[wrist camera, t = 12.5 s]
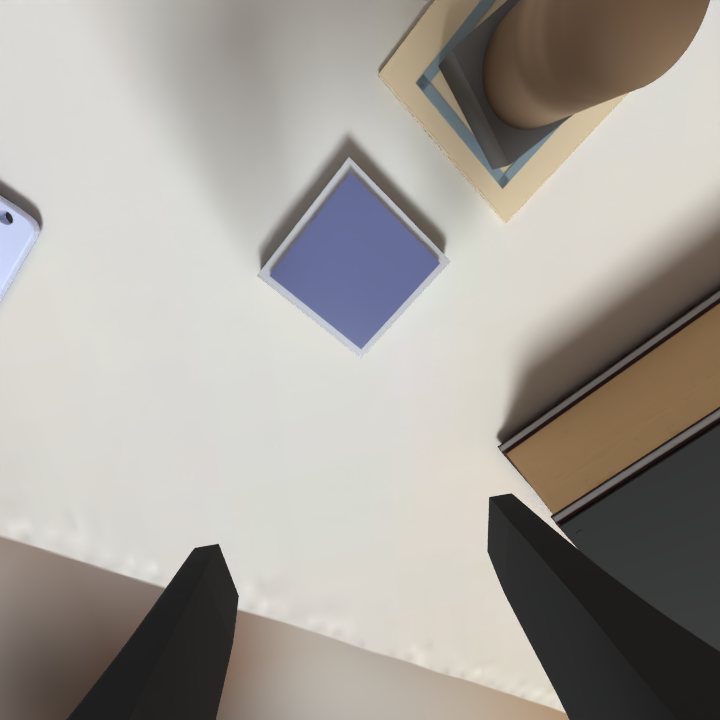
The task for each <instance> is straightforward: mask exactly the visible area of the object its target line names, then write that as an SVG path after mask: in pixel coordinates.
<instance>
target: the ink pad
mask: <svg viewBox="0 0 720 720" xmlns="http://www.w3.org/2000/svg"><path fill="white" fill-rule="evenodd" d="M450 262H451V261H450V260H449V259H448V258H447V257H446V256H445V255H444V254H443V253H442V252H441V251H440V250H439V249H438V248H437V247H436V246H435V245H434V244H433V243H432V242H431V240H430V239H429V238H428V237H427V236H426V235H425V234H424V233H423V232H422V231H421V230H420V229H419V228H418V227H417V226H416V225H415V224H414V223H413V222H412V221H411V220H410V219H409V218H408V217H407V216H406V215H405V214H404V213H403V212H402V211H401V210H400V209H399V208H398V207H397V206H396V205H395V204H394V203H393V202H392V200H391V199H390V198H389V197H388V196H387V195H386V194H385V193H384V192H383V191H382V190H381V189H380V188H379V187H378V186H377V185H376V184H375V183H374V182H373V181H372V180H371V179H370V178H369V177H368V176H367V175H366V174H365V173H364V172H363V171H362V170H361V169H360V168H359V167H358V166H357V165H356V164H355V163H354V162H353V160H352V159H351V158H350V157H349V158H348V159H347V160H346V161H345V163H344V164H343V165H342V167H341V168H340V169H339V170H338V172H337V173H336V174H335V176H334V177H333V178H332V179H331V181H330V182H329V183H328V185H327V186H326V187H325V188H324V190H323V191H322V192H321V194H320V195H319V196H318V197H317V199H316V200H315V201H314V203H313V204H312V205H311V207H310V208H309V209H308V210H307V212H306V213H305V214H304V216H303V217H302V218H301V219H300V221H299V222H298V223H297V225H296V226H295V227H294V228H293V230H292V231H291V232H290V234H289V235H288V236H287V237H286V239H285V240H284V241H283V243H282V244H281V245H280V246H279V248H278V249H277V250H276V252H275V253H274V254H273V255H272V257H271V258H270V259H269V261H268V262H267V263H266V264H265V266H264V267H263V268H262V270H261V271H260V272H259V273H258V275H257V276H258V277H259V278H261V279H262V280H263V281H264V282H266V283H267V284H268V285H269V286H271V287H272V288H273V289H274V290H276V291H277V292H278V293H279V294H281V295H282V296H283V297H284V298H286V299H287V300H288V301H290V302H291V303H292V304H293V305H295V306H296V307H297V308H298V309H300V310H301V311H302V312H303V313H305V314H306V315H307V316H308V317H310V318H311V319H312V320H314V321H315V322H316V323H317V324H319V325H320V326H321V327H322V328H324V329H325V330H326V331H327V332H329V333H330V334H331V335H332V336H334V337H335V338H336V339H338V340H339V341H340V342H341V343H343V344H344V345H345V346H346V347H348V348H349V349H350V350H351V351H353V352H354V353H355V354H356V355H358V356H359V357H360V358H362V357H363V356H364V355H365V354H366V353H367V351H368V350H369V349H370V348H371V347H372V346H373V345H374V344H375V343H376V342H377V341H378V340H379V338H380V337H381V336H382V335H383V334H384V333H385V332H386V331H387V330H388V329H389V328H390V327H391V325H392V324H393V323H394V322H395V321H396V320H397V319H398V318H399V317H400V316H401V315H402V314H403V312H404V311H405V310H406V309H407V308H408V307H409V306H410V305H411V304H412V303H413V302H414V301H415V299H416V298H417V297H418V296H419V295H420V294H421V293H422V292H423V291H424V290H425V289H426V288H427V286H428V285H429V284H430V283H431V282H432V281H433V280H434V279H435V278H436V277H437V276H438V275H439V274H440V272H441V271H442V270H443V269H444V268H445V267H446V266H447V265H448V264H449V263H450Z"/></svg>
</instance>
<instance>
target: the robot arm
mask: <svg viewBox="0 0 720 720" xmlns="http://www.w3.org/2000/svg"><path fill="white" fill-rule="evenodd" d="M6 212H9V213H10V214H11V215H12V218H13V223H10V222H9V221H8V220H7V218H6ZM39 232H40V229H39V225H38V223H37V222H36V220H35V219H34V218H32V217H31V216H30V215H28V214H27V213H26V212H24V211H23V210H21V209H20V208H18V207H17V206H15V205H14V204H12V203H11V202H10V201H8V200H7V199H5V198H4V197H2V196H1V195H0V301H1V299H2V298H3V296H4V294H5V292H6V291H7V289H8V287H9V285H10V284H11V282H12V280H13V279H14V277H15V275H16V273H17V272H18V270H19V268H20V267H21V265H22V263H23V261H24V260H25V258H26V256H27V254H28V253H29V251H30V249H31V248H32V246H33V244H34V242H35V241H36V239H37V237H38V235H39ZM488 554H489V556H490V559H491V561H492V564H493V566H494V569H495V572H496V574H497V576H498V579H499V581H500V584H501V586H502V589H503V591H504V593H505V595H506V597H507V599H508V601H509V603H510V605H511V607H512V609H513V611H514V613H515V615H516V617H517V619H518V620H519V622H520V624H521V626H522V628H523V630H524V632H525V634H526V636H527V638H528V640H529V642H530V643H531V645H532V647H533V649H534V651H535V653H536V655H537V657H538V659H539V661H540V662H541V664H542V666H543V668H544V670H545V672H546V674H547V676H548V678H549V680H550V682H551V683H552V685H553V687H554V689H555V691H556V693H557V695H558V697H559V699H560V701H561V703H562V705H563V707H564V709H565V711H566V713H567V715H568V717H569V719H570V720H720V651H718V650H717V649H715V648H714V647H712V646H710V645H709V644H707V643H706V642H704V641H703V640H701V639H700V638H698V637H697V636H695V635H694V634H692V633H691V632H689V631H688V630H686V629H685V628H683V627H682V626H680V625H679V624H677V623H676V622H674V621H673V620H672V619H670V618H669V617H667V616H666V615H664V614H663V613H662V612H660V611H659V610H657V609H656V608H654V607H653V606H652V605H650V604H649V603H647V602H646V601H645V600H643V599H642V598H641V597H639V596H638V595H636V594H635V593H634V592H632V591H631V590H630V589H628V588H627V587H626V586H624V585H623V584H622V583H620V582H619V581H618V580H616V579H615V578H614V577H612V576H611V575H610V574H608V573H607V572H606V571H605V570H603V569H602V568H601V567H599V566H598V565H597V564H596V563H594V562H593V561H592V560H591V559H589V558H588V557H587V556H586V555H584V554H583V553H582V552H581V551H579V550H578V549H577V548H576V547H574V546H573V545H572V544H571V543H569V542H568V541H567V540H566V539H565V538H563V537H562V536H561V535H560V534H559V533H557V532H556V531H555V530H554V529H553V528H552V527H550V526H549V525H548V524H547V523H546V522H544V521H543V520H542V519H541V518H540V517H539V516H537V515H536V514H535V513H534V512H533V511H532V510H530V509H529V508H528V507H527V506H526V505H525V504H523V503H522V502H521V501H520V500H519V499H518V498H516V497H515V496H514V495H513V494H505V495H499V496H494V497H489V522H488ZM238 597H239V596H238V593H237V590H236V588H235V585H234V583H233V580H232V577H231V575H230V572H229V570H228V567H227V564H226V562H225V559H224V557H223V554H222V551H221V549H220V546H219V544H215V545H209V546H204V547H198V548H195V549H194V550H193V551H192V552H191V554H190V555H189V556H188V558H187V559H186V561H185V562H184V563H183V565H182V566H181V568H180V569H179V571H178V572H177V573H176V575H175V576H174V578H173V579H172V580H171V582H170V583H169V585H168V586H167V588H166V589H165V590H164V592H163V594H162V595H161V596H160V597H159V599H158V600H157V602H156V603H155V605H154V606H153V607H152V609H151V610H150V612H149V613H148V614H147V616H146V617H145V618H144V620H143V621H142V623H141V624H140V625H139V627H138V628H137V629H136V631H135V632H134V633H133V635H132V636H131V637H130V639H129V640H128V641H127V643H126V644H125V645H124V647H123V648H122V649H121V651H120V652H119V653H118V655H117V656H116V657H115V659H114V660H113V661H112V663H111V664H110V665H109V666H108V668H107V669H106V670H105V671H104V673H103V674H102V675H101V677H100V678H99V679H98V680H97V682H96V683H95V684H94V686H93V687H92V688H91V689H90V691H89V692H88V693H87V694H86V696H85V697H84V698H83V700H82V701H81V702H80V703H79V705H78V706H77V707H76V708H75V710H74V711H73V712H72V713H71V714H70V716H69V717H68V718H67V719H66V720H216V716H217V711H218V707H219V703H220V698H221V694H222V689H223V685H224V681H225V676H226V671H227V667H228V663H229V658H230V654H231V649H232V645H233V638H234V630H235V623H236V614H237V606H238Z"/></svg>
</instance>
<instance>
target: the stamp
mask: <svg viewBox="0 0 720 720" xmlns="http://www.w3.org/2000/svg"><path fill="white" fill-rule="evenodd" d="M709 2H710V0H507V1H506V2H505V3H504V4H503V5H501V6H500V7H499V8H498V9H497V10H496V11H495V12H493V13H492V14H491V15H490V16H489V17H488V18H487V19H485V20H484V21H483V22H482V23H481V24H480V25H479V26H478V27H476V28H475V29H474V30H473V31H472V32H471V33H470V34H468V35H467V36H466V37H465V38H464V39H463V40H462V41H460V42H459V43H458V44H457V45H456V46H455V47H454V48H452V49H451V51H450V52H449V53H448V54H447V56H446V57H445V58H444V59H443V61H442V62H441V63H440V64H439V68H440V70H441V72H442V74H443V76H444V78H445V80H446V82H447V84H448V86H449V88H450V89H451V91H452V93H453V95H454V97H455V99H456V101H457V103H458V105H459V107H460V109H461V111H462V113H463V114H464V116H465V118H466V120H467V122H468V124H469V126H470V128H471V130H472V132H473V134H474V136H475V138H476V139H477V141H478V143H479V145H480V147H481V149H482V151H483V153H484V155H485V157H486V159H487V161H488V163H489V164H490V166H491V168H492V170H494V169H497V168H501V167H505V166H509V165H511V164H512V163H513V162H514V161H516V160H517V159H518V158H519V157H521V156H522V155H523V154H525V153H526V152H527V151H528V150H530V149H531V148H532V147H533V146H535V145H536V144H537V143H538V142H540V141H541V140H542V139H543V138H545V137H546V136H547V135H548V134H550V133H551V132H552V131H554V130H555V129H556V128H557V127H559V126H560V125H561V124H562V123H564V122H565V121H566V120H567V119H569V118H570V117H571V116H572V115H574V114H575V113H578V112H581V111H583V110H586V109H588V108H591V107H593V106H596V105H598V104H601V103H603V102H606V101H608V100H611V99H614V98H616V97H619V96H621V95H624V94H626V93H629V92H631V91H634V90H636V89H639V88H642V87H644V86H646V85H648V84H650V83H652V82H653V81H655V80H656V79H658V78H659V77H661V76H662V75H663V74H664V73H666V72H667V71H668V70H669V69H670V68H671V67H672V66H673V65H674V64H675V63H676V62H677V61H678V60H679V59H680V57H681V56H682V55H683V53H684V52H685V51H686V50H687V48H688V47H689V45H690V43H691V42H692V40H693V39H694V37H695V35H696V33H697V31H698V30H699V28H700V26H701V23H702V21H703V19H704V16H705V14H706V11H707V8H708V5H709Z"/></svg>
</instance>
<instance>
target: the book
mask: <svg viewBox="0 0 720 720" xmlns="http://www.w3.org/2000/svg"><path fill="white" fill-rule="evenodd" d="M498 448H499V449H500V450H501V451H502V453H503V454H504V456H505V457H506V458H507V459H508V460H509V461H510V463H511V464H512V465H513V466H514V467H515V468H516V469H517V471H518V472H519V473H520V474H521V475H522V476H523V478H524V479H525V480H526V481H527V482H528V483H529V485H530V486H531V487H532V488H533V489H534V490H535V492H536V493H537V494H538V496H539V497H540V498H541V500H542V501H543V502H544V503H545V505H546V506H547V507H548V509H549V510H550V511H551V512H552V514H553V515H552V516H551V518H552V519H553V520H554V521H555V523H556V525H557V526H558V527H559V528H560V529H561V530H562V531H563V532H564V534H565V535H566V536H567V537H568V538H569V539H570V540H571V542H572V543H573V544H574V545H575V546H576V547H577V548H578V550H579V551H581V552H582V553H583V554H584V555H586V556H587V557H588V558H589V559H591V560H592V561H593V562H594V563H596V564H597V565H598V566H599V567H601V568H602V569H603V570H605V571H606V572H607V573H608V574H610V575H611V576H612V577H614V578H615V579H616V580H618V581H619V582H620V583H622V584H623V585H624V586H626V587H627V588H628V589H630V590H631V591H632V592H634V593H635V594H636V595H638V596H639V597H641V598H642V599H643V600H645V601H646V602H647V603H649V604H650V605H652V606H653V607H654V608H656V609H657V610H659V611H660V612H662V613H663V614H664V615H666V616H667V617H669V618H670V619H672V620H673V621H674V622H676V623H677V624H679V625H680V626H682V627H683V628H685V629H686V630H688V631H689V632H691V633H692V634H694V635H695V636H697V637H698V638H700V639H701V640H703V641H704V642H706V643H707V644H709V645H710V646H712V647H714V648H715V649H717V650H718V651H720V289H719V290H718V291H716V292H715V293H713V294H712V295H711V296H709V297H708V298H706V299H705V300H704V301H702V302H701V303H699V304H698V305H696V306H695V307H694V308H692V309H691V310H689V311H688V312H687V313H685V314H684V315H682V316H681V317H680V318H678V319H677V320H675V321H674V322H673V323H671V324H670V325H668V326H667V327H666V328H664V329H663V330H661V331H660V332H659V333H657V334H656V335H654V336H653V337H651V338H650V339H649V340H647V341H646V342H644V343H643V344H642V345H640V346H639V347H637V348H636V349H635V350H633V351H632V352H630V353H629V354H628V355H626V356H625V357H623V358H622V359H621V360H619V361H618V362H616V363H615V364H614V365H612V366H611V367H609V368H608V369H606V370H605V371H604V372H602V373H601V374H599V375H598V376H597V377H595V378H594V379H592V380H591V381H590V382H588V383H587V384H585V385H584V386H583V387H581V388H580V389H578V390H577V391H576V392H574V393H573V394H571V395H570V396H569V397H567V398H566V399H564V400H563V401H561V402H560V403H559V404H557V405H556V406H554V407H553V408H552V409H550V410H549V411H547V412H546V413H545V414H543V415H542V416H540V417H539V418H538V419H536V420H535V421H533V422H532V423H531V424H529V425H528V426H526V427H525V428H524V429H522V430H521V431H519V432H518V433H516V434H515V435H514V436H512V437H511V438H509V439H508V440H507V441H505V442H504V443H502V444H501V445H500V446H498Z"/></svg>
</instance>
